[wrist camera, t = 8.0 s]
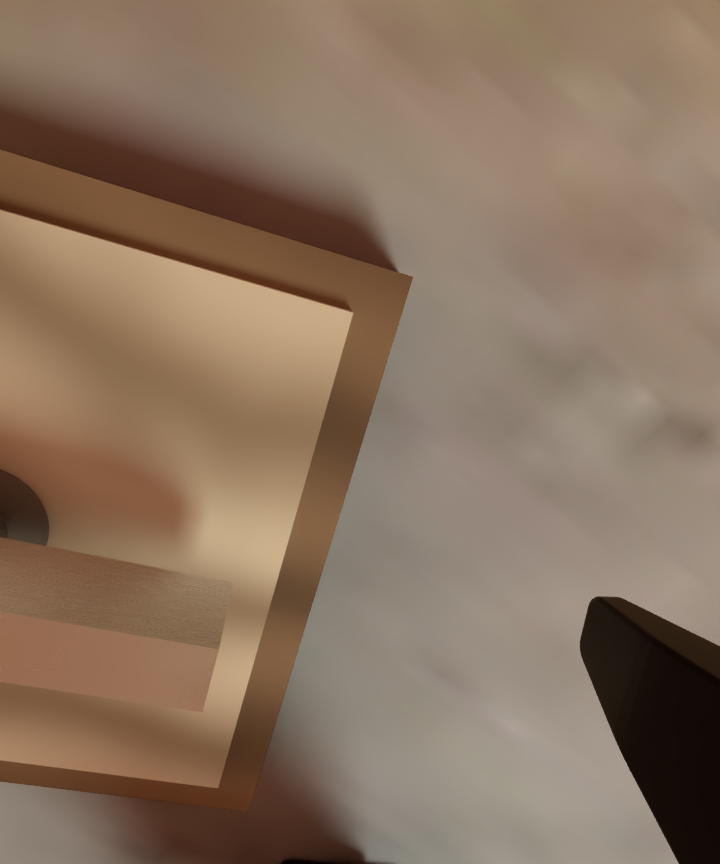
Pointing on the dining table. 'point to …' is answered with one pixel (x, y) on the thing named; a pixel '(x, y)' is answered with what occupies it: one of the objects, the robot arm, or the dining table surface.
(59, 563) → the T-key
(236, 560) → the brown square tray
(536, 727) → the dining table surface
